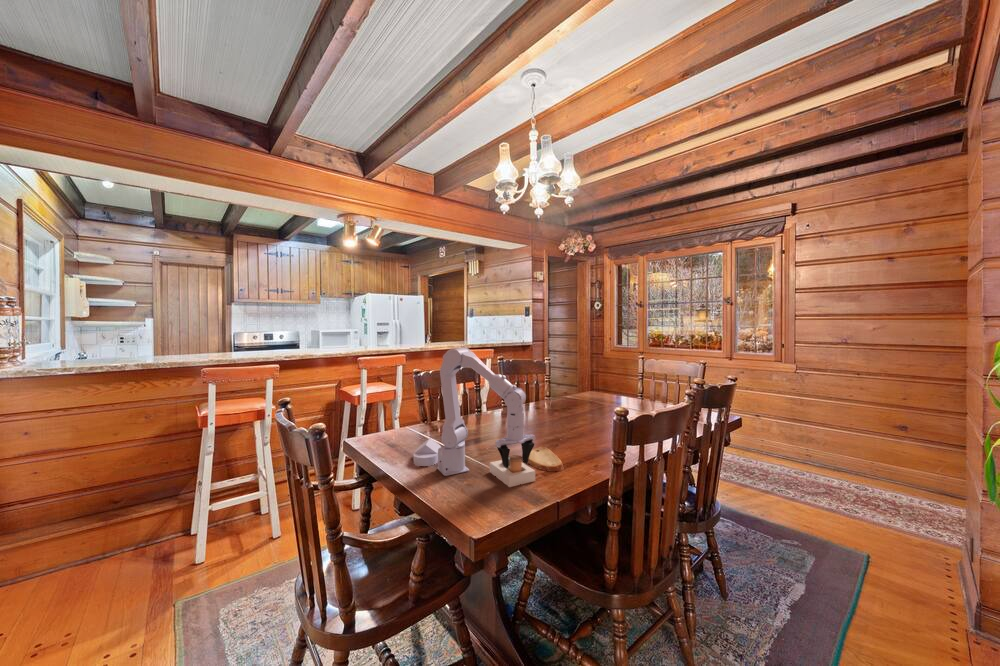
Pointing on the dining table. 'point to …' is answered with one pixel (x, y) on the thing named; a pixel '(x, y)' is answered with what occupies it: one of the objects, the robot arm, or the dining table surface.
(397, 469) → the dining table surface
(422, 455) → the wedge on round base
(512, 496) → the dining table surface
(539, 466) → the bread slice
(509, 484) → the cream block with recess
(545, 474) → the dining table surface
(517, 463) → the orange tapered cylinder
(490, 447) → the dining table surface
